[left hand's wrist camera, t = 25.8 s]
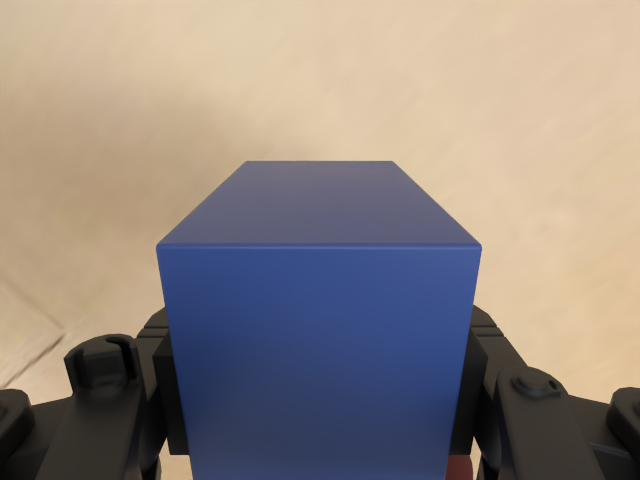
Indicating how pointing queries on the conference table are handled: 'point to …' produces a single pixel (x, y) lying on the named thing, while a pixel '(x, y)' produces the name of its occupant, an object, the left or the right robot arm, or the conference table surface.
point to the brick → (319, 323)
